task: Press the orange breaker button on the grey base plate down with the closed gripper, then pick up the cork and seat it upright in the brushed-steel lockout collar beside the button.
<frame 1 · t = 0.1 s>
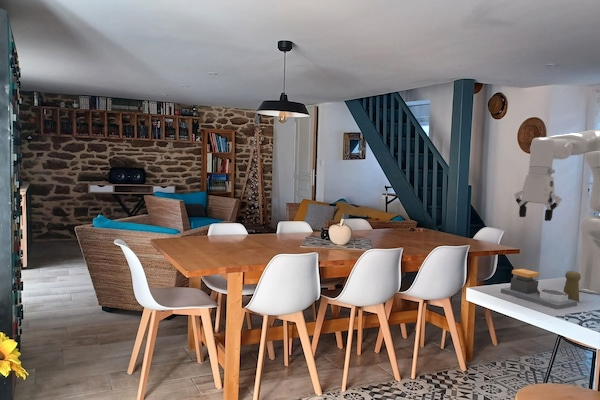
hand: (534, 218, 182), 31 cm above the table, fingers open, 9 cm apart
grey base plate: (537, 298, 190), on the table
breaker button: (525, 276, 195), point 7 cm above the table, slide at 0.0 cm
cork: (570, 300, 192), on the table
lockout collar: (551, 302, 186), resting on grey base plate
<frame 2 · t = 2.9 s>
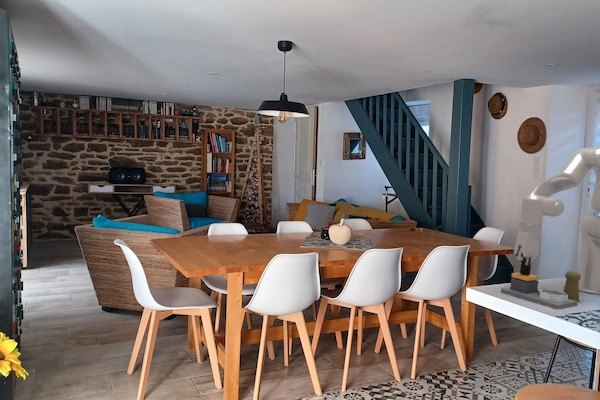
hand: (524, 274, 194), 8 cm above the table, fingers closed
breaker button: (524, 280, 195), point 6 cm above the table, slide at 1.3 cm, touching gripper
everything else where it was.
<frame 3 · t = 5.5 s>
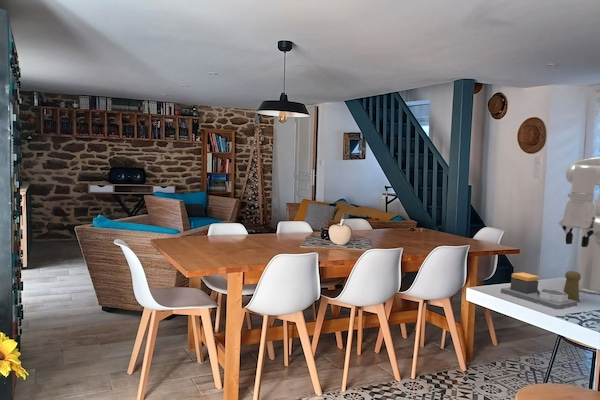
hand: (576, 244, 190), 21 cm above the table, fingers open, 5 cm apart
breaker button: (524, 280, 195), point 6 cm above the table, slide at 1.4 cm
everything else where it was.
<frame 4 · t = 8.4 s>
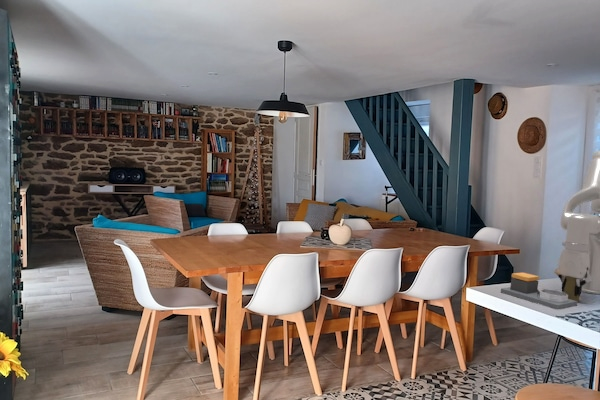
hand: (570, 293, 191), 2 cm above the table, fingers closed on cork, 4 cm apart
cork: (570, 300, 192), on the table, touching gripper
everything else where it was.
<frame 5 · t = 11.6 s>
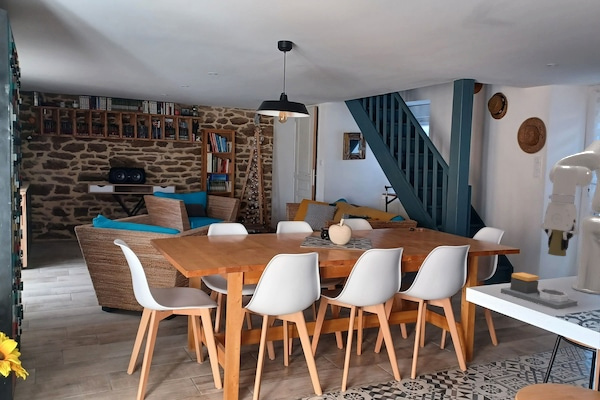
hand: (557, 248, 184), 21 cm above the table, fingers closed on cork, 4 cm apart
cork: (556, 255, 184), point 18 cm above the table, touching gripper
everything else where it was.
when the fingers open (5 cm above the table, at t = 14.6 s): cork drops 1 cm, resting on grey base plate.
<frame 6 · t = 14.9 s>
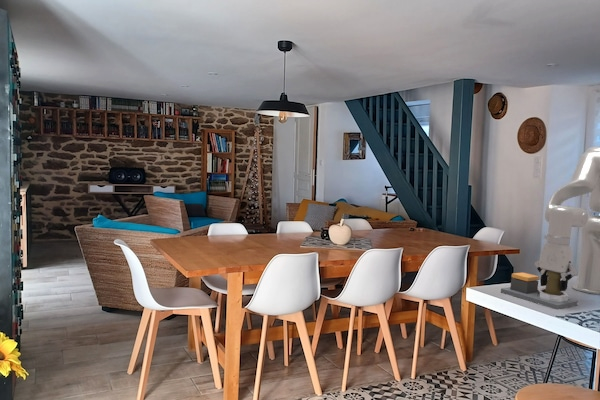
hand: (553, 287, 185), 6 cm above the table, fingers open, 6 cm apart
cork: (552, 299, 186), point 1 cm above the table, touching grey base plate
everything else where it was.
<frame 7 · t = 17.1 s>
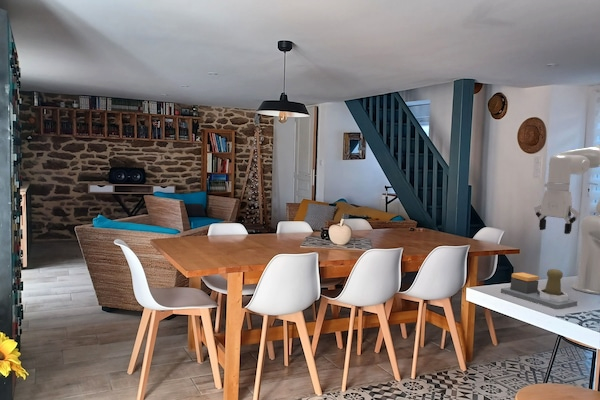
hand: (554, 231, 192), 26 cm above the table, fingers open, 9 cm apart
nothing on the table moved.
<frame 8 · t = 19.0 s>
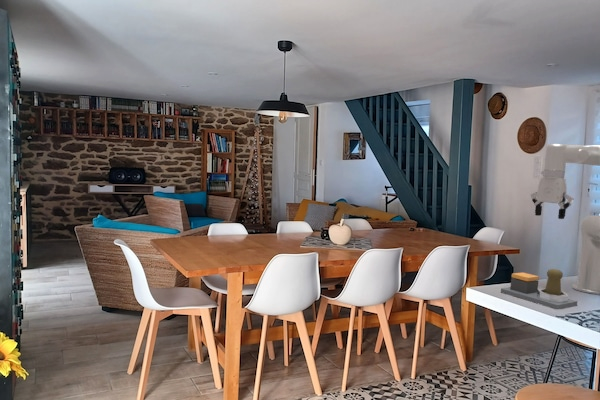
hand: (549, 217, 201), 30 cm above the table, fingers open, 9 cm apart
nothing on the table moved.
at the end: breaker button slide at 1.4 cm; cork 0.2 cm off-centre on the lockout collar, point 1.3 cm above the lockout collar's base; cork tilted 0° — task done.
